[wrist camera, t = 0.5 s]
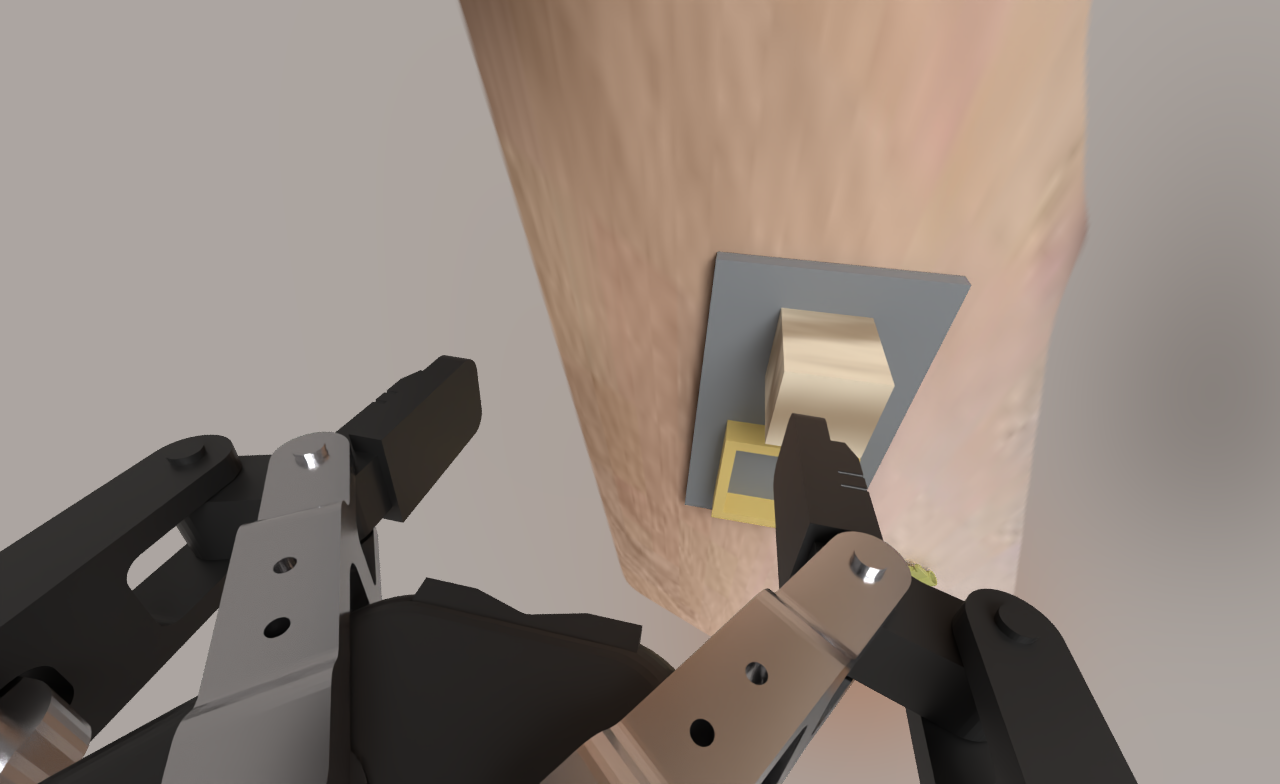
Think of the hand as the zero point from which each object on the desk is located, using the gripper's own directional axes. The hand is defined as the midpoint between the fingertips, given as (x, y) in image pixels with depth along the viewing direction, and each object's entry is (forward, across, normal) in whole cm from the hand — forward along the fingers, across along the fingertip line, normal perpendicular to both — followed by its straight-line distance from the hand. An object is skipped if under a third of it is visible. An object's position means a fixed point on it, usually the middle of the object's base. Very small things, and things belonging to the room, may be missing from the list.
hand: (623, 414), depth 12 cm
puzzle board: (+20, -8, +11) cm, 24 cm away
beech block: (+18, -8, +6) cm, 20 cm away
